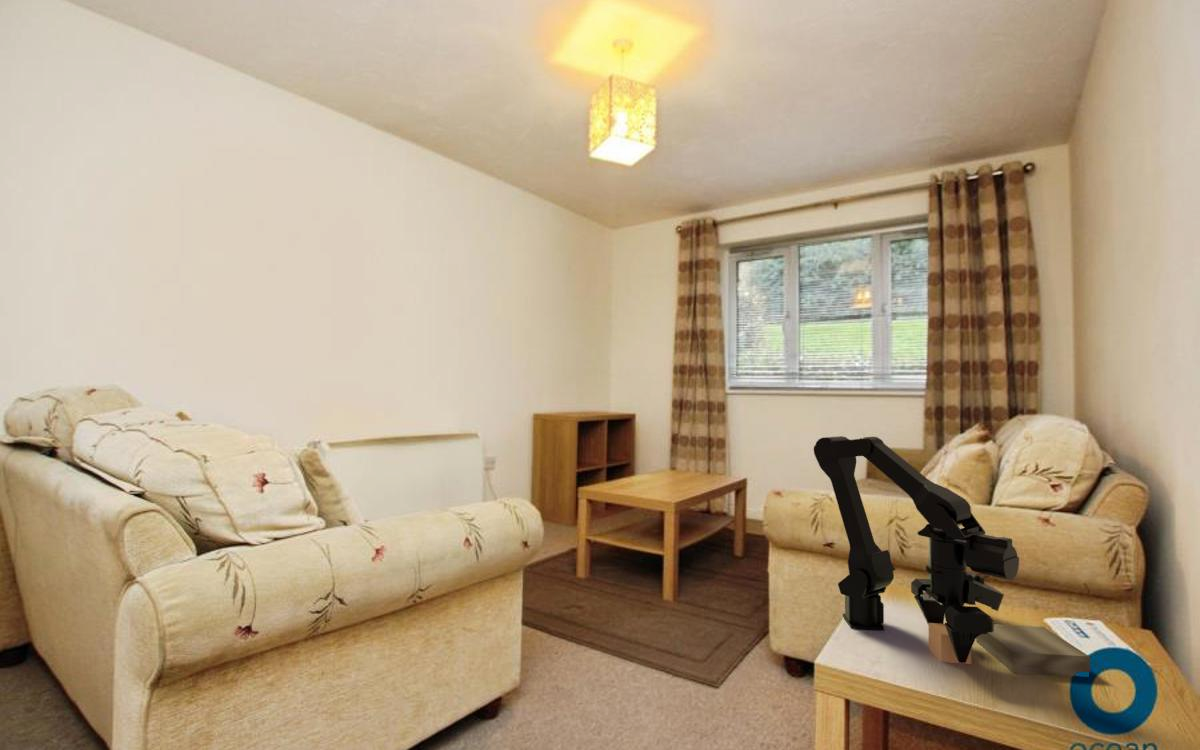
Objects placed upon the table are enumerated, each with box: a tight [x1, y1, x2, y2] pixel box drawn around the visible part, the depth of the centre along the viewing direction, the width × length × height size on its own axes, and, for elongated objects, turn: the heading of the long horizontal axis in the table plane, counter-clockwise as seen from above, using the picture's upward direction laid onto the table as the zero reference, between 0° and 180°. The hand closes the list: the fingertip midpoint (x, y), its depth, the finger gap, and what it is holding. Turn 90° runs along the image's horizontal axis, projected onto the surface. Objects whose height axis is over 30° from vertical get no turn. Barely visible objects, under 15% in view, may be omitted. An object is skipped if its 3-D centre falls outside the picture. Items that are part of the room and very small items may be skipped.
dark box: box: [975, 624, 1091, 678], centre depth 102 cm, size 12×12×4 cm
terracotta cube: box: [928, 623, 972, 665], centre depth 103 cm, size 5×5×5 cm
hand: (949, 650), depth 103 cm, fingers open, 9 cm apart
